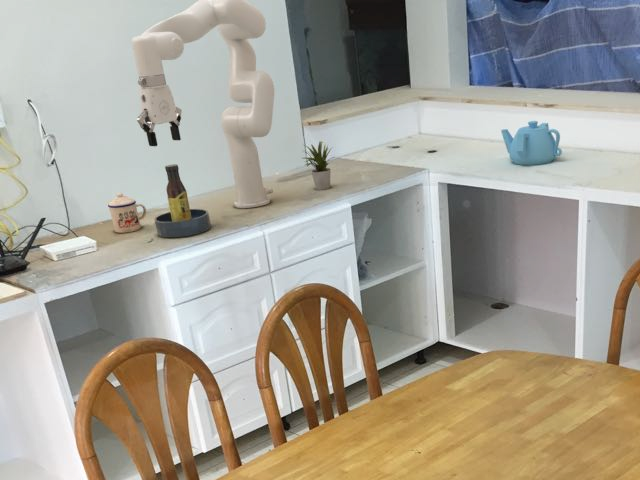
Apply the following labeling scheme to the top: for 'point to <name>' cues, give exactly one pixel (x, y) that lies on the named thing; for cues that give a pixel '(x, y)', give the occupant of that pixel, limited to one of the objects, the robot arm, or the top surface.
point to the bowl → (183, 224)
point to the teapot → (532, 144)
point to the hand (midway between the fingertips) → (165, 143)
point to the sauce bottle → (177, 195)
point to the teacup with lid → (125, 214)
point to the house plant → (319, 167)
